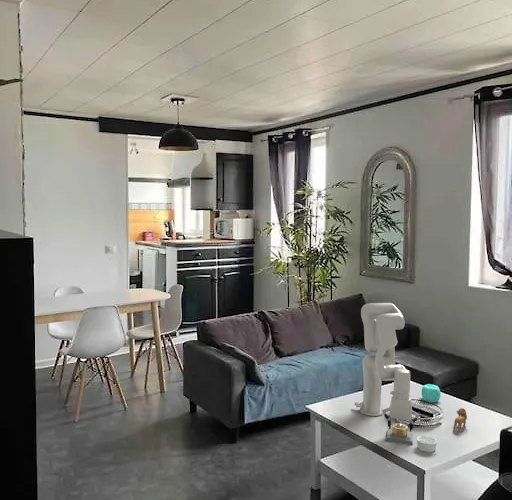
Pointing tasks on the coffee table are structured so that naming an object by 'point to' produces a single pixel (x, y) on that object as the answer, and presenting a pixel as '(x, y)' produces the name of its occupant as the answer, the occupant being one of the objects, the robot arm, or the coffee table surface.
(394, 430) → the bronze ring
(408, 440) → the stand base
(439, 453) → the coffee table surface
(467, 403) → the coffee table surface
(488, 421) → the coffee table surface
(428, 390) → the decorative dice
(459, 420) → the lion figurine
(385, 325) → the robot arm
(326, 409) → the coffee table surface
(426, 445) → the ramekin
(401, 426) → the steel post
